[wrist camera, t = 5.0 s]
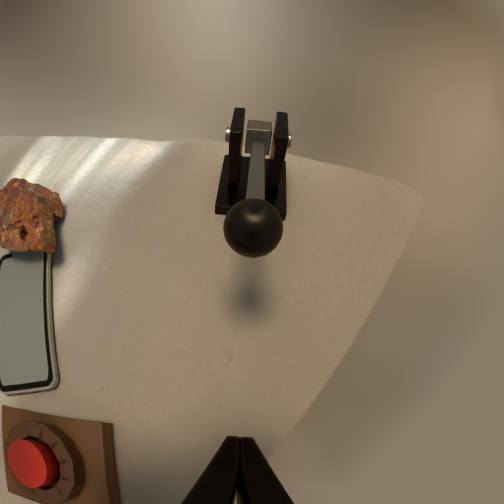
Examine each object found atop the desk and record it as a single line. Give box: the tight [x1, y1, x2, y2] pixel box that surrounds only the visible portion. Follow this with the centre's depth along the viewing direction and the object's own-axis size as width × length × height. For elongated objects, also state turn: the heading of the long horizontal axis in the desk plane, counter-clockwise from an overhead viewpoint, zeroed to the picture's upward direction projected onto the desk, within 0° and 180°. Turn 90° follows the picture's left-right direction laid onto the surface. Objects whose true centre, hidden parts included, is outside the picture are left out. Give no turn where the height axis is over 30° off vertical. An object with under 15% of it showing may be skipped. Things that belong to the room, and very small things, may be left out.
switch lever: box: [223, 120, 283, 258], centre depth 22 cm, size 17×3×3 cm, turn 176°
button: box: [8, 439, 58, 488], centre depth 12 cm, size 4×4×2 cm
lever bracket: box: [215, 108, 292, 220], centre depth 29 cm, size 8×7×9 cm
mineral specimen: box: [0, 178, 63, 254], centre depth 25 cm, size 12×8×7 cm, turn 78°
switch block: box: [2, 405, 120, 504], centre depth 14 cm, size 10×8×4 cm
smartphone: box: [0, 249, 59, 395], centre depth 22 cm, size 7×1×15 cm
